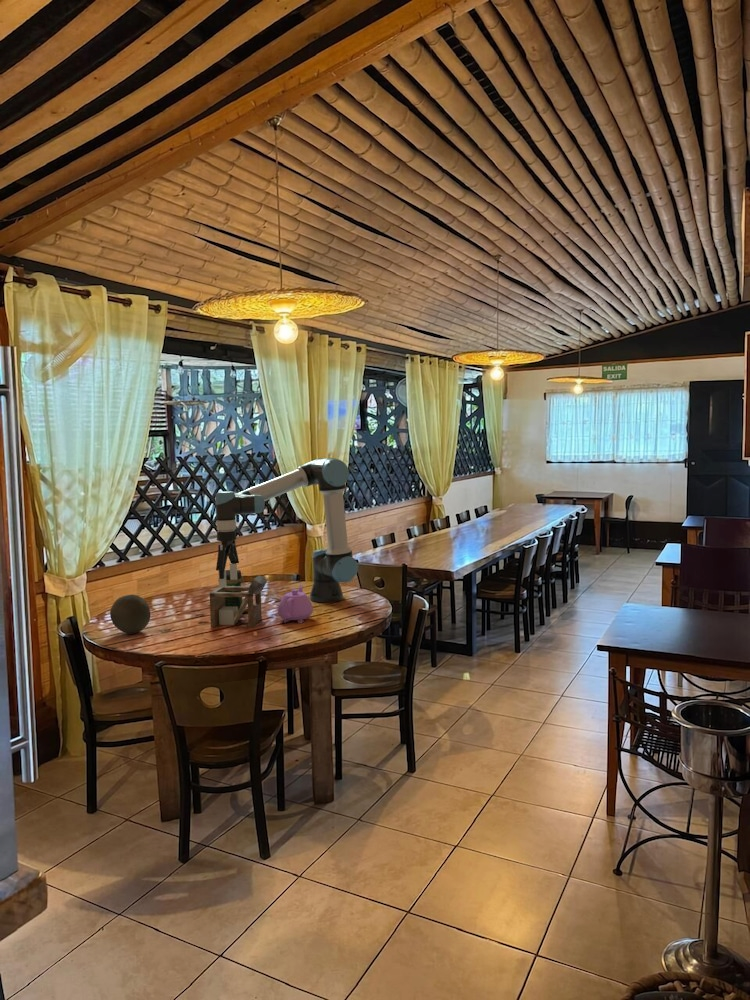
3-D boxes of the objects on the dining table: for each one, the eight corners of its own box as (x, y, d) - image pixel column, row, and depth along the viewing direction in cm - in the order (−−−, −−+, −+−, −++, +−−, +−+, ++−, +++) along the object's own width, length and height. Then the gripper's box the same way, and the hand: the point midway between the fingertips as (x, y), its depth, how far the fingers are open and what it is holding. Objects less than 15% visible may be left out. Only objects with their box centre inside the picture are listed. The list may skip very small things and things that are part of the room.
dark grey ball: (120, 629, 265) (118, 591, 264) (156, 628, 265) (154, 591, 264) (105, 639, 251) (103, 599, 250) (143, 639, 251) (141, 599, 250)
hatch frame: (261, 618, 276) (260, 586, 275) (252, 627, 264) (251, 593, 263) (221, 618, 278) (220, 586, 277) (210, 626, 266) (209, 593, 265)
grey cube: (237, 606, 274) (223, 606, 274) (233, 610, 268) (218, 610, 268) (238, 621, 274) (224, 620, 275) (233, 625, 268) (219, 624, 269)
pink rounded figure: (286, 612, 286) (285, 583, 285) (319, 613, 283) (318, 584, 282) (271, 625, 266) (270, 594, 265) (306, 626, 264) (305, 595, 262)
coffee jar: (245, 610, 290) (243, 568, 289) (240, 615, 282) (238, 571, 281) (223, 610, 291) (221, 568, 289) (217, 615, 283) (216, 572, 282)
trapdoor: (267, 579, 273) (259, 575, 273) (262, 584, 264) (253, 579, 264) (246, 619, 275) (238, 614, 275) (240, 625, 267) (231, 620, 267)
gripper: (227, 526, 281) (229, 576, 283) (206, 534, 256) (208, 589, 258) (245, 526, 280) (246, 576, 282) (225, 534, 255) (227, 589, 257)
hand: (228, 583), depth 270 cm, fingers open, 13 cm apart
